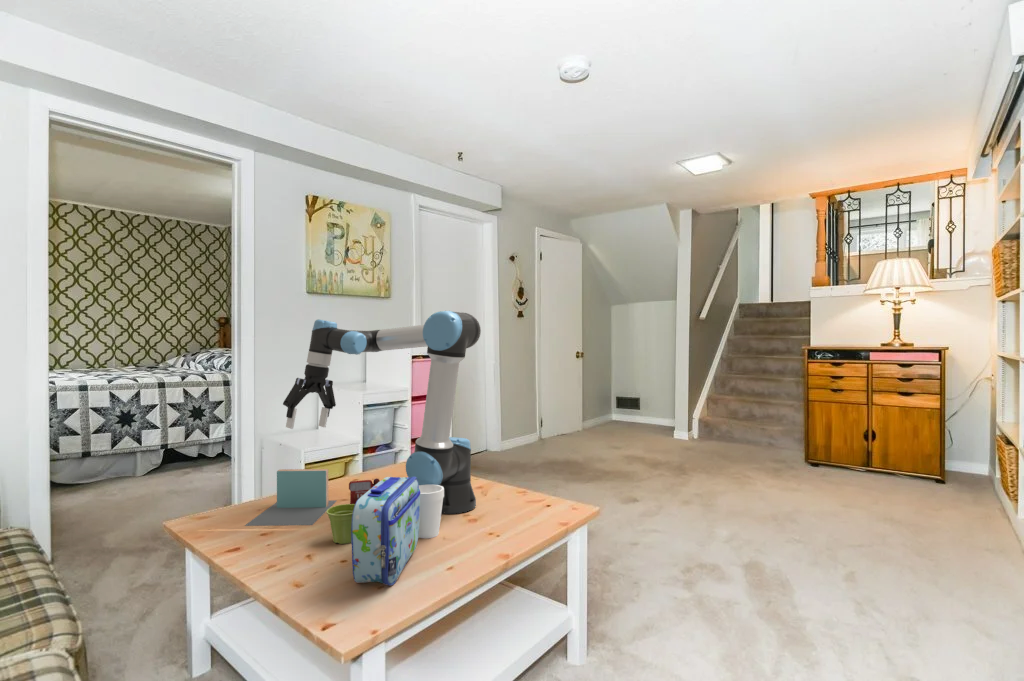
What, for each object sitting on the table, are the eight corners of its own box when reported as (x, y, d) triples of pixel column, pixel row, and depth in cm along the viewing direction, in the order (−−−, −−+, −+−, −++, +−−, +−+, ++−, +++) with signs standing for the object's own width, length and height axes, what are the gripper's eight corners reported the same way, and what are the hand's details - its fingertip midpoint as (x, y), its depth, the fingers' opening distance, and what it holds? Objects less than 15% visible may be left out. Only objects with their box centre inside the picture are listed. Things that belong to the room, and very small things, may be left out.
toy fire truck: (389, 512, 169) (389, 480, 169) (349, 517, 165) (349, 484, 165) (387, 506, 176) (387, 475, 176) (348, 510, 172) (348, 478, 172)
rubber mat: (278, 502, 180) (278, 500, 180) (337, 502, 180) (337, 500, 180) (244, 527, 156) (244, 525, 156) (312, 527, 156) (312, 525, 156)
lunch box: (392, 594, 115) (392, 498, 115) (345, 592, 116) (345, 497, 116) (424, 547, 141) (424, 469, 141) (385, 545, 142) (385, 468, 142)
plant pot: (329, 549, 140) (329, 516, 140) (324, 537, 148) (324, 506, 148) (365, 543, 144) (365, 511, 144) (358, 531, 152) (358, 502, 152)
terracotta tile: (279, 505, 175) (279, 469, 175) (328, 505, 175) (328, 469, 175) (276, 507, 173) (276, 471, 173) (325, 507, 173) (325, 470, 173)
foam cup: (450, 531, 153) (450, 486, 153) (432, 542, 144) (432, 495, 144) (423, 526, 157) (423, 482, 157) (404, 537, 148) (403, 491, 148)
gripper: (337, 366, 191) (327, 423, 190) (279, 360, 169) (266, 425, 168) (352, 369, 188) (341, 428, 187) (294, 364, 166) (282, 430, 165)
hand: (306, 427), depth 178 cm, fingers open, 13 cm apart
